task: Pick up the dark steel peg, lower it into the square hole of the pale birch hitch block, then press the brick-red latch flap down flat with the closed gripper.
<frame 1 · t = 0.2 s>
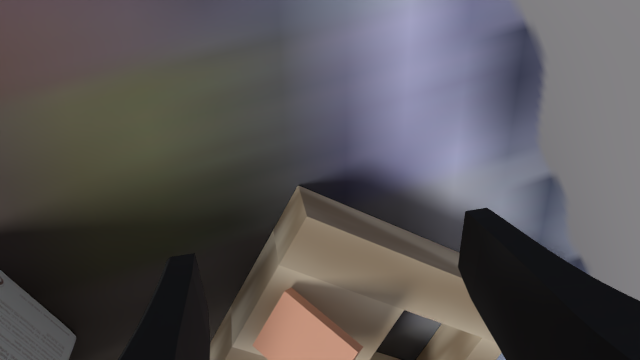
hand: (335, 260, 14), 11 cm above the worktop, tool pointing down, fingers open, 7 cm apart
hitch block: (362, 307, 28), on the worktop
latch flap: (305, 346, 23), point 5 cm above the worktop, hinge at 40.0°
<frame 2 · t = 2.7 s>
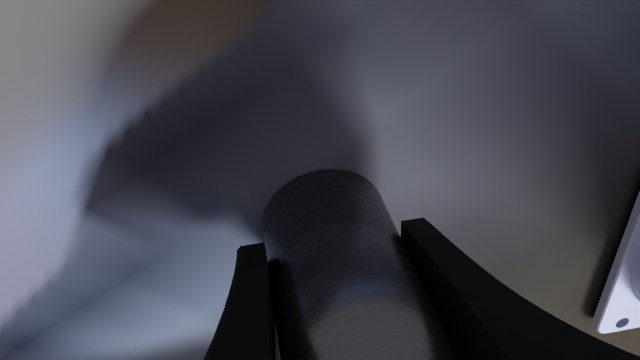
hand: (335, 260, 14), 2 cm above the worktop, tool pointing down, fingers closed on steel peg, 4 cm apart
steel peg: (323, 222, 15), on the worktop, touching gripper
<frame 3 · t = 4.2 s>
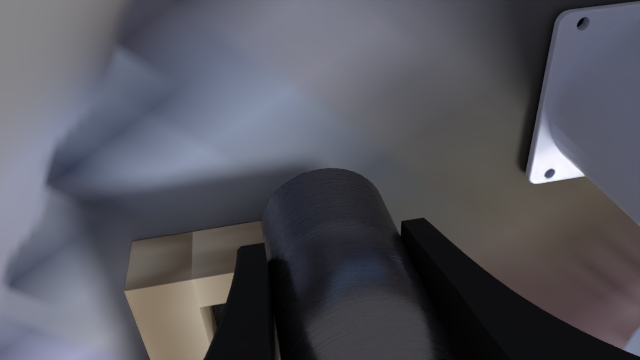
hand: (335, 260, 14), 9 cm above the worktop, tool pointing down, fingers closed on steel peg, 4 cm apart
hitch block: (264, 320, 27), on the worktop
steel peg: (323, 220, 15), point 7 cm above the worktop, touching gripper
when the fingers open (4 cm above the worktop, at t = 6.0 s): steel peg drops 2 cm, resting in hitch block.
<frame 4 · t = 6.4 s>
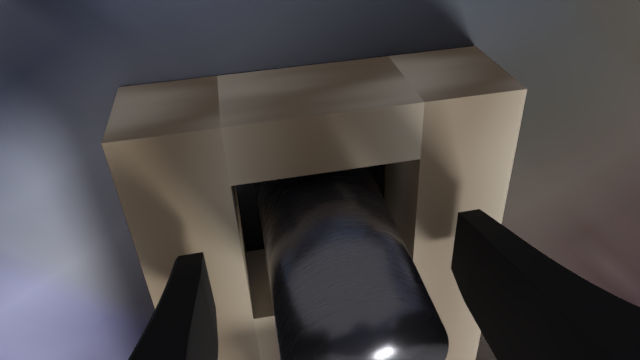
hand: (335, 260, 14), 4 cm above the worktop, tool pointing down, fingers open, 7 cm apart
hitch block: (316, 242, 18), on the worktop
steel peg: (312, 180, 17), resting in hitch block
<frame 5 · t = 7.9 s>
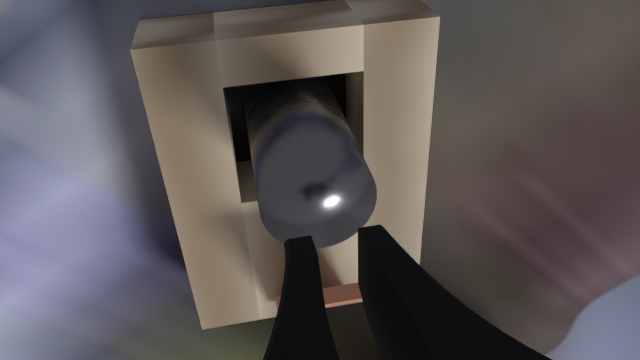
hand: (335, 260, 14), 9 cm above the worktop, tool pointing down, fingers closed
hitch block: (292, 156, 23), on the worktop
steel peg: (288, 102, 22), resting in hitch block
latch flap: (315, 300, 22), point 5 cm above the worktop, hinge at 40.0°
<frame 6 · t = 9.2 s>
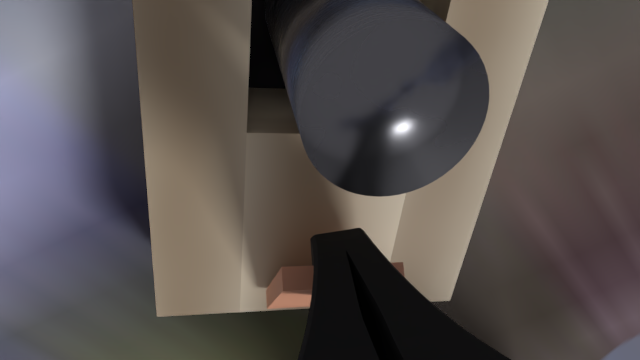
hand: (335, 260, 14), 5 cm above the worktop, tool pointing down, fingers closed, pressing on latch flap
hitch block: (316, 92, 17), on the worktop
steel peg: (326, 9, 16), resting in hitch block
latch flap: (328, 287, 15), point 5 cm above the worktop, hinge at 37.7°, touching gripper
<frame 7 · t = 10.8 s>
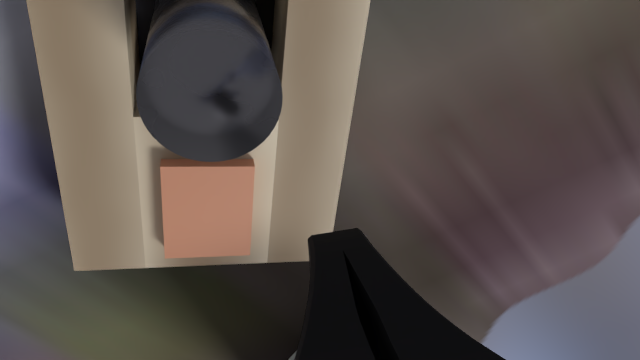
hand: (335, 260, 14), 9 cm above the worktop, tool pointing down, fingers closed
hitch block: (206, 85, 20), on the worktop
steel peg: (207, 17, 19), resting in hitch block
latch flap: (208, 209, 20), point 3 cm above the worktop, hinge at -1.6°, touching hitch block
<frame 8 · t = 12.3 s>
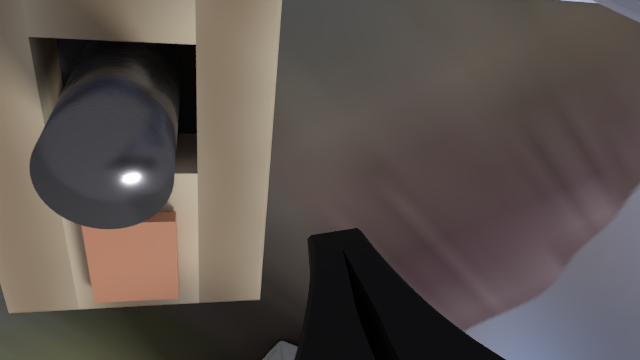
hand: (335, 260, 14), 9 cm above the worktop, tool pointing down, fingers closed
hitch block: (136, 135, 21), on the worktop
steel peg: (131, 73, 20), resting in hitch block
latch flap: (134, 258, 20), point 3 cm above the worktop, hinge at 1.1°
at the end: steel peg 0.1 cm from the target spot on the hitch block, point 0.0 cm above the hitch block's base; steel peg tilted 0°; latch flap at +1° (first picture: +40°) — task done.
